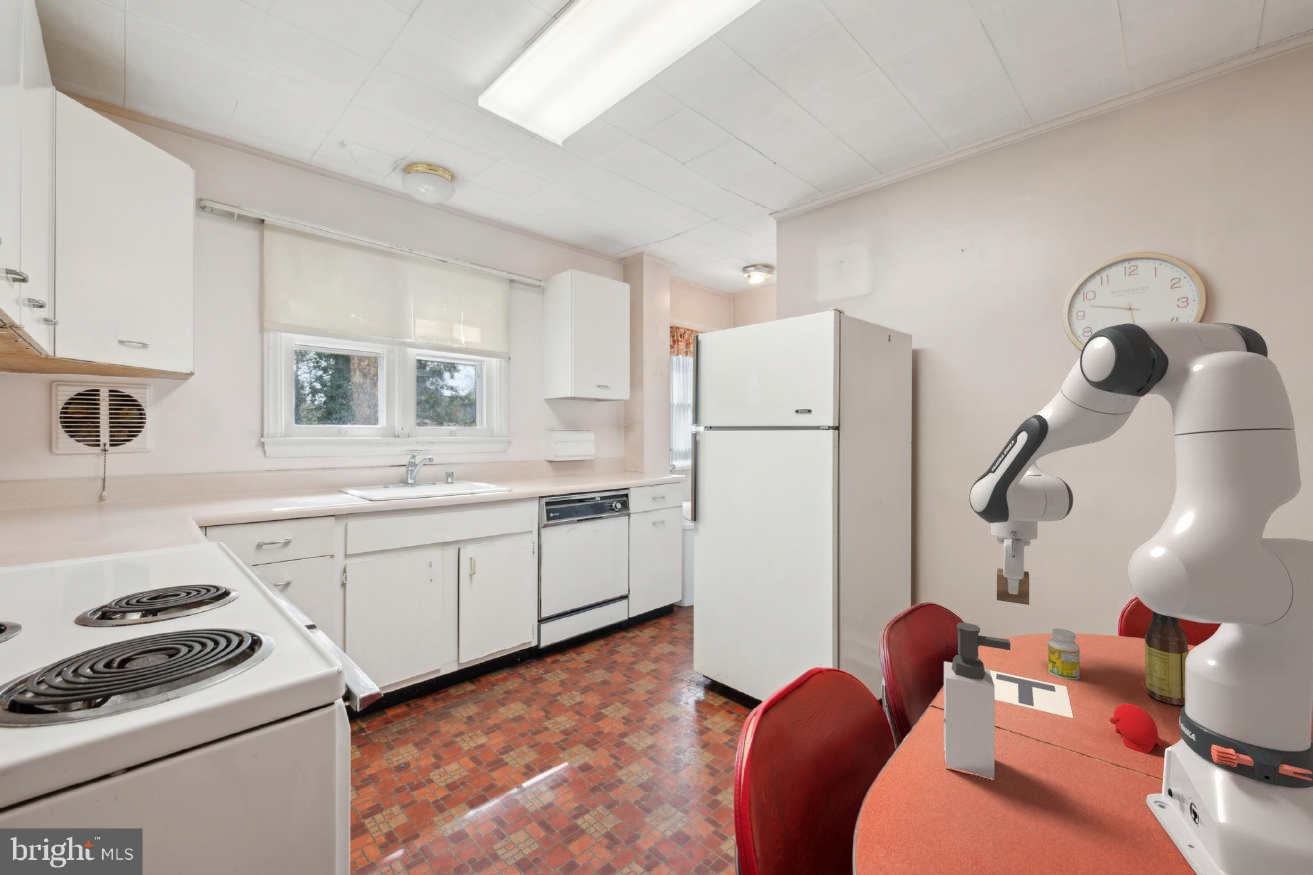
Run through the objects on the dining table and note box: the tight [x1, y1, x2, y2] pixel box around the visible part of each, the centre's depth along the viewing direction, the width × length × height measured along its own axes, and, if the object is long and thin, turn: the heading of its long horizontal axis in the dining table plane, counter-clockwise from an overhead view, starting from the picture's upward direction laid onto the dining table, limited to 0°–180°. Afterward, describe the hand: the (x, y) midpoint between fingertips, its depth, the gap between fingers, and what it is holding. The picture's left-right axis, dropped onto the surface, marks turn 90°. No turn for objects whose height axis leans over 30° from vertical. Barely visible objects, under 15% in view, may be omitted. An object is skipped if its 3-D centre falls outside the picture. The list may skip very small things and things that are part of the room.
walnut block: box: [996, 567, 1030, 606], centre depth 119 cm, size 6×6×6 cm
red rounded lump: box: [1109, 703, 1164, 754], centre depth 89 cm, size 8×6×6 cm
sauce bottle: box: [1144, 610, 1190, 706], centre depth 103 cm, size 7×6×20 cm
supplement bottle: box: [1047, 628, 1081, 680], centre depth 113 cm, size 5×5×10 cm
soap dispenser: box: [943, 622, 1011, 780], centre depth 83 cm, size 6×9×22 cm
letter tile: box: [989, 669, 1074, 719], centre depth 105 cm, size 14×14×1 cm
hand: (1013, 588), depth 119 cm, fingers closed on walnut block, 6 cm apart
